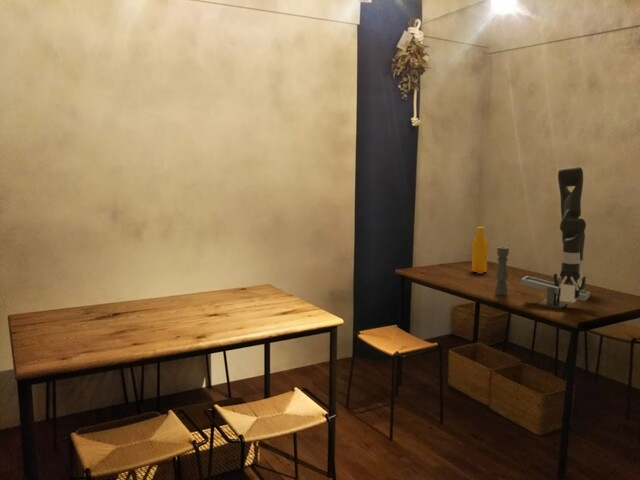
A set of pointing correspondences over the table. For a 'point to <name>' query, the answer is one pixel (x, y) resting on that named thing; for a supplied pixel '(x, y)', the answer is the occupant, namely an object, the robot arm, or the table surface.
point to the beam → (549, 286)
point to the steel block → (568, 292)
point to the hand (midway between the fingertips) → (568, 296)
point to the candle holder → (502, 271)
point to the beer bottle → (479, 251)
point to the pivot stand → (552, 300)
